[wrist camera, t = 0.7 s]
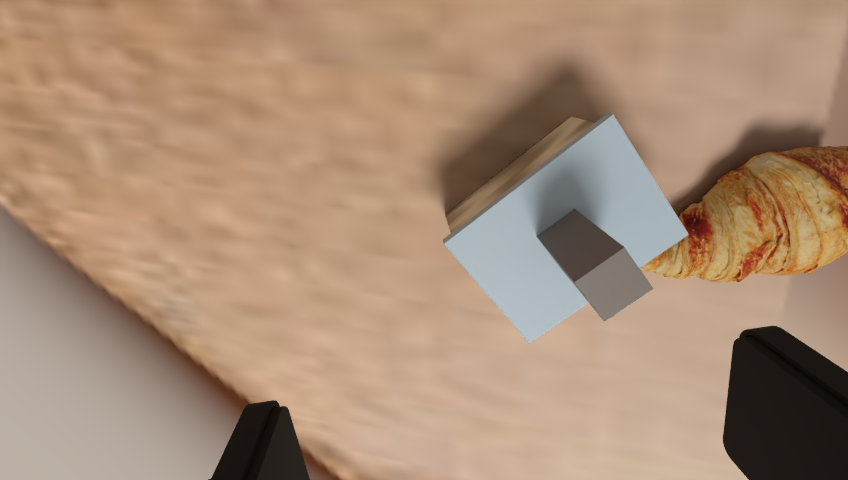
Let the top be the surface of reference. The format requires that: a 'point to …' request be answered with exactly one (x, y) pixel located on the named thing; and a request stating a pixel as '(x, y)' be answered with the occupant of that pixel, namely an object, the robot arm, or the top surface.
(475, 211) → the box
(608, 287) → the lid
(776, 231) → the croissant
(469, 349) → the top surface
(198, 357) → the top surface
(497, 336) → the top surface
